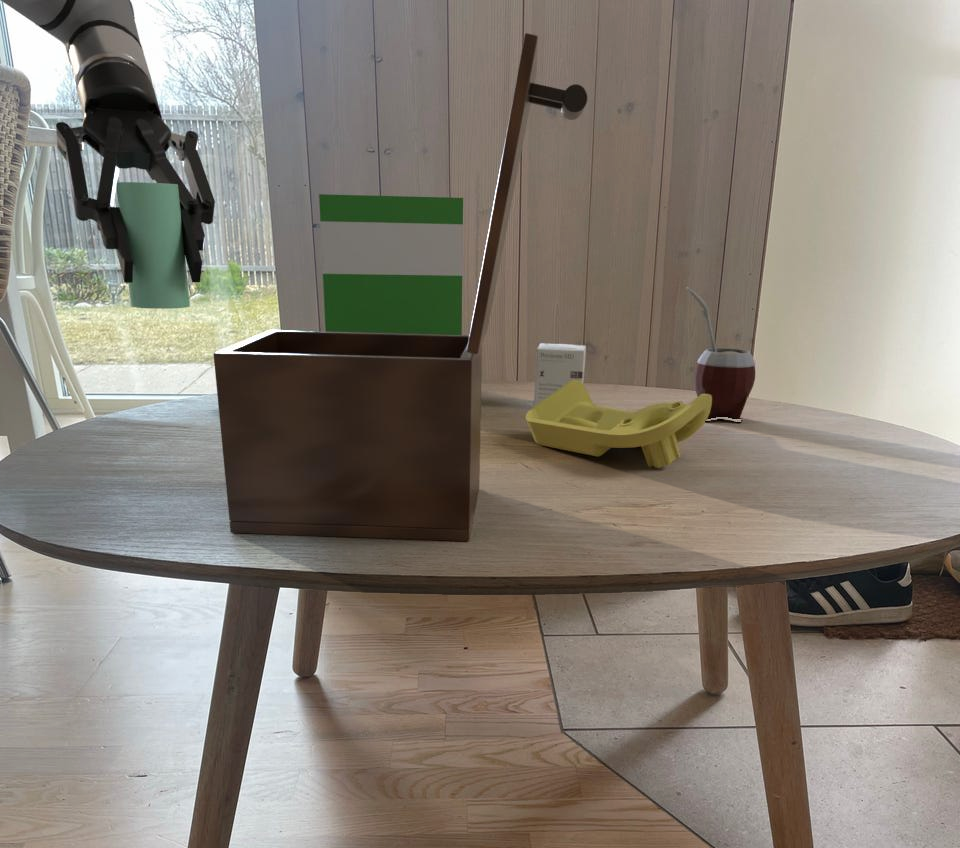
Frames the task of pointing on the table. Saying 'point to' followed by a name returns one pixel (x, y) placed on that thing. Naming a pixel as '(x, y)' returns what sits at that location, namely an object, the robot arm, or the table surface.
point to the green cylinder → (154, 244)
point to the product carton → (557, 368)
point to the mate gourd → (723, 374)
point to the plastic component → (615, 424)
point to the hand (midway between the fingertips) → (163, 272)
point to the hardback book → (392, 264)
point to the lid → (515, 173)
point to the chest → (351, 434)
